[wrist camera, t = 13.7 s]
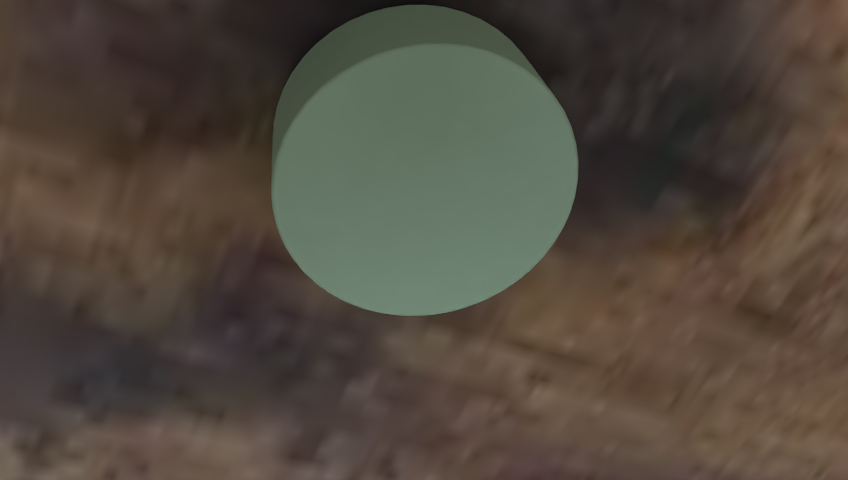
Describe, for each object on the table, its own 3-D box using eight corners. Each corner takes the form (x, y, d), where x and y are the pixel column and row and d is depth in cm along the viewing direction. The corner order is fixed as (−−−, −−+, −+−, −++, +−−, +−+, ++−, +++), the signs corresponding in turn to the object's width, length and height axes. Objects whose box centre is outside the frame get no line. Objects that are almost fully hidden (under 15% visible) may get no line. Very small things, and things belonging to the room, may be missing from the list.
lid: (553, -9, 16) (593, 30, 14) (537, 240, 19) (567, 299, 17) (251, 15, 15) (246, 59, 13) (291, 267, 19) (292, 333, 17)
